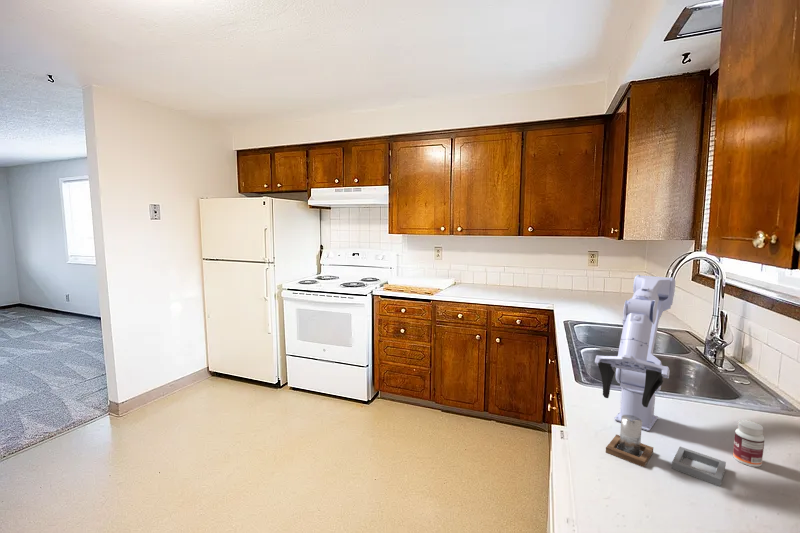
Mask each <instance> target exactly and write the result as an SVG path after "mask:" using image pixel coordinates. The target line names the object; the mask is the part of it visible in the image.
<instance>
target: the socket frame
mask: <svg viewBox="0 0 800 533" xmlns="http://www.w3.org/2000/svg"><path fill="white" fill-rule="evenodd" d="M619 445H620V434H615V436H614V437H612V439H611V441H610V442H609V443H608V444H607V445H606V447H605V453H606V454H609V455H611V456H614V457H616V458H618V459H621V460H624V461H627V462H629V463H631V464H635V465H637V466H640V467H642V468H645V467H646V465H647V464H648V462H649V460H650V458H651V457H652V455H653V453H654V447H653V446H649V445H648V444H644V443H641V444H640V452H642V453H640V454H641V455H640V456H639V457H637V456H635V455H632V454H629V453H627V452H624V451H622V450H619V448H618V446H619Z"/></svg>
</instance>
